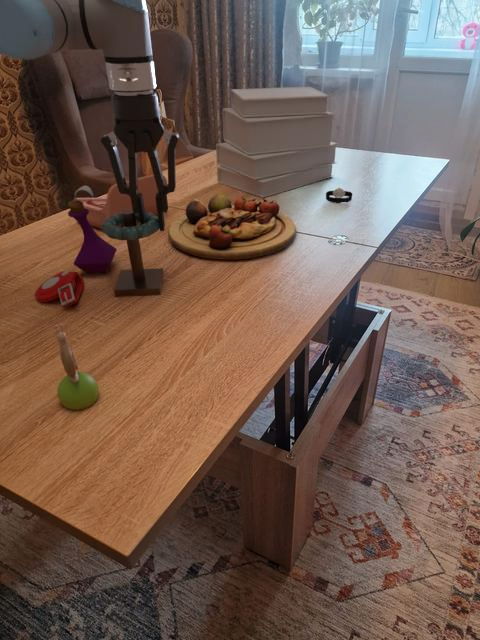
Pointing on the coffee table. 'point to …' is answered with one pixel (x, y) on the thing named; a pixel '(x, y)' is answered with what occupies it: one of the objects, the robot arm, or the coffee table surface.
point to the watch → (338, 195)
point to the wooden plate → (232, 228)
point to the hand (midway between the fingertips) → (153, 228)
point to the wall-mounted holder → (120, 201)
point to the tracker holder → (61, 288)
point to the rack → (137, 269)
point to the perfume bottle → (90, 241)
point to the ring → (130, 233)
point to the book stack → (275, 140)
